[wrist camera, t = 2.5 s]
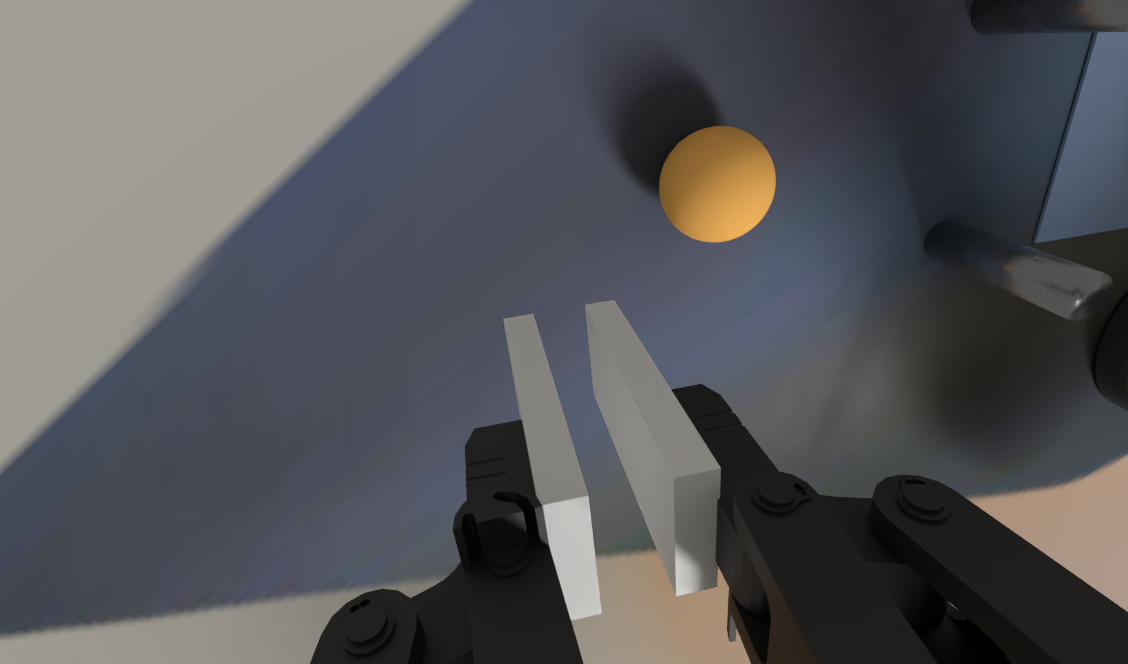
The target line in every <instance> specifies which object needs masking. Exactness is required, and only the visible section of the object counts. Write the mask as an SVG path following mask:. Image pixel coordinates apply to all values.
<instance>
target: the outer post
mask: <svg viewBox="0 0 1128 664" xmlns="http://www.w3.org/2000/svg"><path fill="white" fill-rule="evenodd" d="M972 23H973V26H974V28H975V29H976V30H977V31H978V32H980V33H982V34H1017V33H1078V32H1128V0H975V2H974V4H973V8H972Z"/></svg>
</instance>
